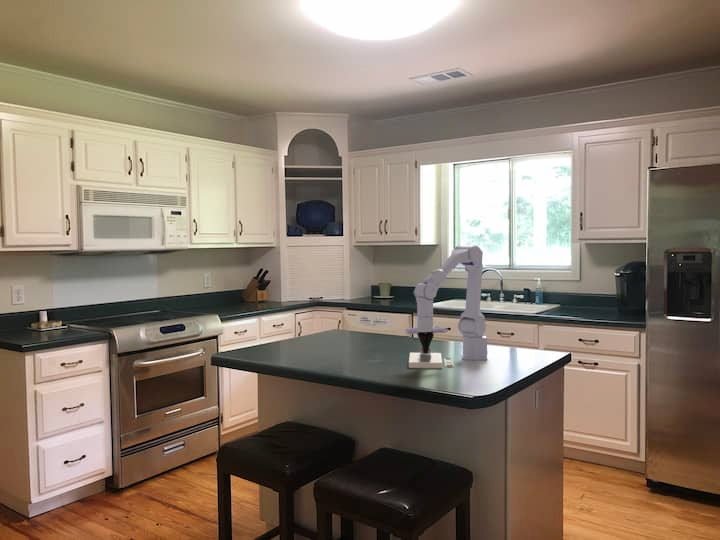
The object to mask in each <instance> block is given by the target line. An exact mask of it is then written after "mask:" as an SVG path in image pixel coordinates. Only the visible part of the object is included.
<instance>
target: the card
mask: <svg viewBox="0 0 720 540" xmlns="http://www.w3.org/2000/svg"><path fill="white" fill-rule="evenodd" d="M443 362H444V367H445V368H455V365H454V361H453V358H452V357H444V358H443Z"/></svg>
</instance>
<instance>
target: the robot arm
mask: <svg viewBox="0 0 720 540" xmlns="http://www.w3.org/2000/svg"><path fill="white" fill-rule="evenodd" d="M483 255H484V253H483V250H482V249H481V248H480V247H479V245H456V246H455V247H454V249H453V250H451V253H450V255H449V257H448V258H447V260H446V261H445V262H444V263H443V264H442V265H441V267H440V268H438V269H437V268H436V269H432V270H431V271H430V274H429V275H428V276H427V277H426V278H424V279H423V282H420V283H417V285H416V286H415V287H414V290H413V295H414V297H415V302H416V305H417V308H416V309H417V312H416V313H417V315H416V316H417V317H416V319H417V322H416V323H417V326H416V327H405V328H404V329H405V330H404V332H405V335H412V334H415V335H417V336H418V339H419V342H420V344H421V347H422V348H423V353H424V354H426V353H428V350H429V347H431V346H430V345H431V342H432V341H433V339H434V334H446V327H445V326H434V298H436V297H437V292H438V291H439V288H441V286H442V285H443V284H444V283H445V282H446V281H447V275H449V274H450V272H452V271H454V270H455V268H456V267H458V265H460V264H461V265H462V266H464V268H466V270H467V280H466V281H467V282H466V294H465V295H466V296H465V297H466V298H465V310H464V311H463V312H462V313H461V314H460V318H459V321H458V324H457V325H458V326H457V328H458V331H459V332H460V335H461V336H462V354H461V355H460V357H461V360H462V361H488V338H487V336H486V335H484V334H485V332H486V330H487V325H486V317H485V315H484V314H483V313H482V312H481V297H482V296H481V295H482V279H483Z"/></svg>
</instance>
